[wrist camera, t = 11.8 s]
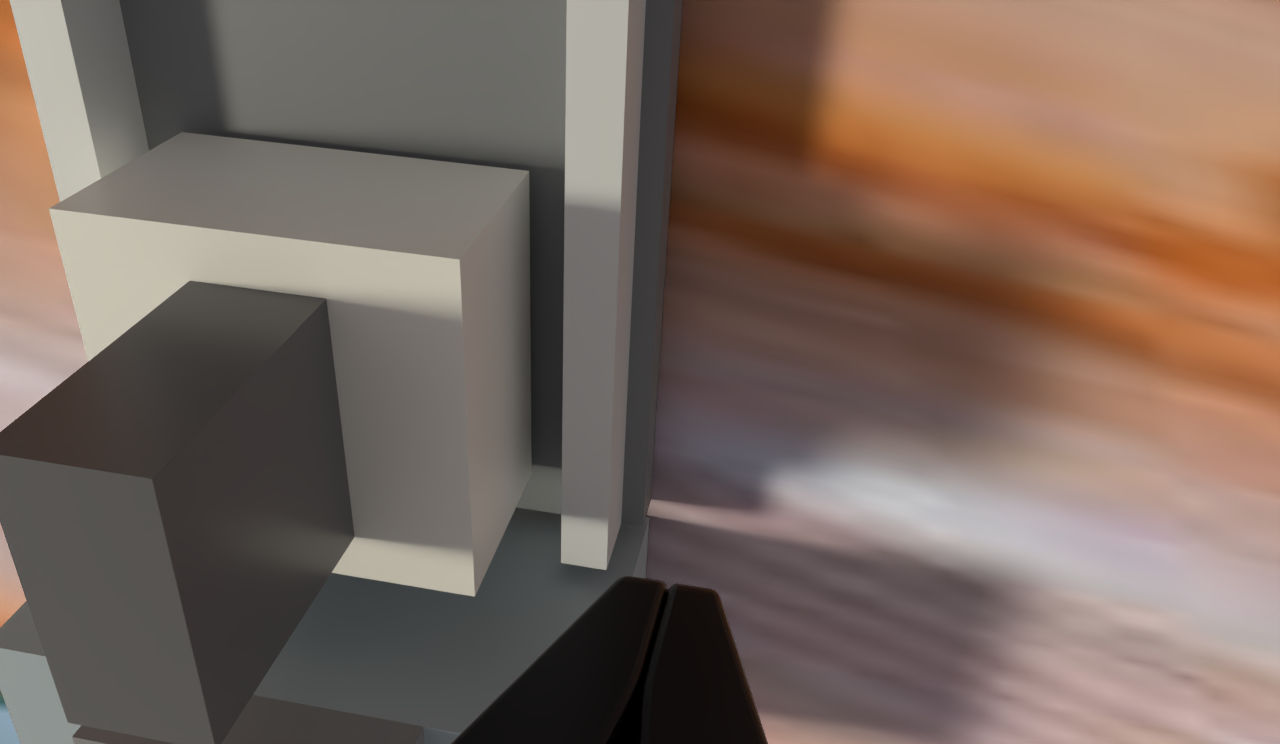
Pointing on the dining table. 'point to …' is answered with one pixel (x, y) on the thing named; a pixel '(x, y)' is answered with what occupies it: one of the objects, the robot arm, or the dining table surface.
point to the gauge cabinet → (375, 651)
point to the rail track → (434, 130)
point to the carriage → (264, 413)
